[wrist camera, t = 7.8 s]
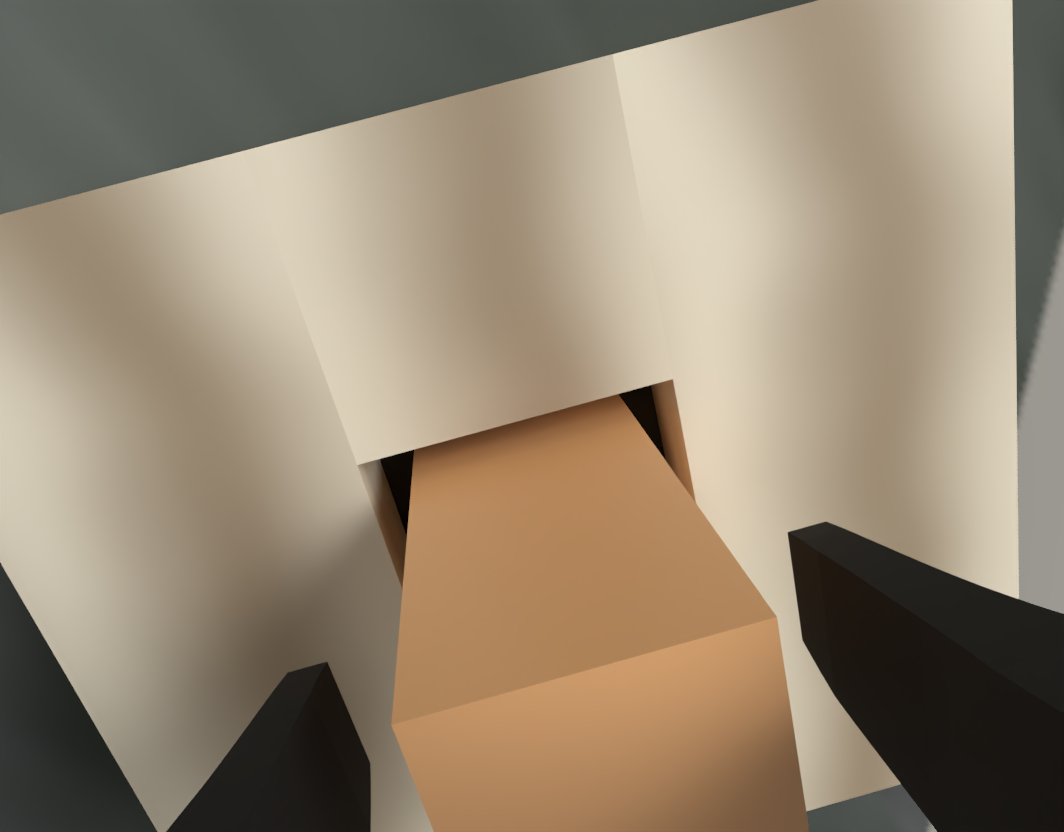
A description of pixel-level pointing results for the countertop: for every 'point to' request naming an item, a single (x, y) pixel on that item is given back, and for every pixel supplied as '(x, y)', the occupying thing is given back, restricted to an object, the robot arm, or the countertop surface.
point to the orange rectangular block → (584, 642)
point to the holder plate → (514, 358)
